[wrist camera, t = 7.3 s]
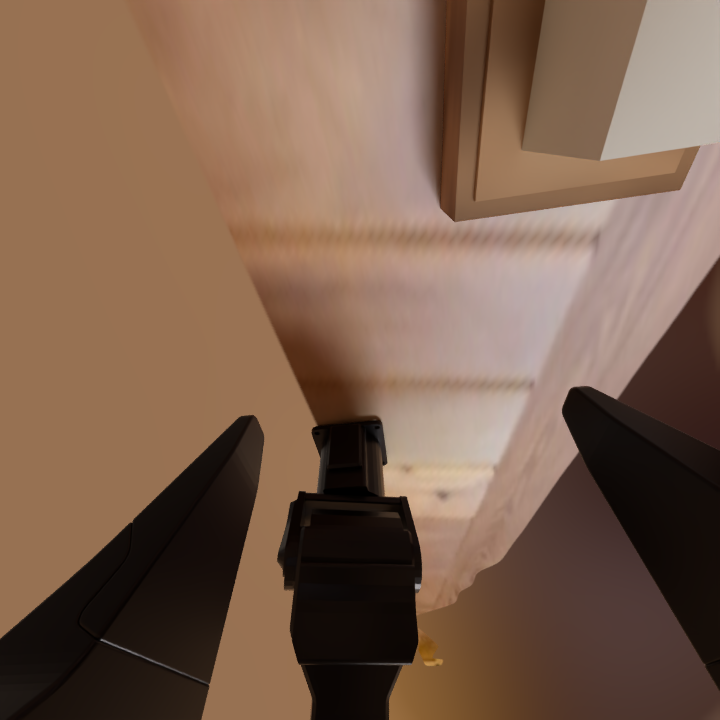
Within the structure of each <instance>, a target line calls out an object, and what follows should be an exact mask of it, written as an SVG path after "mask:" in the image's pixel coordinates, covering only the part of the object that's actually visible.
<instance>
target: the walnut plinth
mask: <svg viewBox="0 0 720 720" xmlns="http://www.w3.org/2000/svg"><path fill="white" fill-rule="evenodd" d="M544 6H545V0H447V3H446V38H445V73H444V108H443V143H442V178H441V209H442V210H443V211H444V212H445V213H446V214H447V215H448V216H449V217H450V218H451V219H452V220H453V221H454V222H458V221H465V220H472V219H479V218H486V217H494V216H501V215H508V214H515V213H522V212H529V211H536V210H543V209H550V208H557V207H564V206H571V205H578V204H585V203H592V202H599V201H606V200H613V199H620V198H627V197H634V196H641V195H648V194H655V193H662V192H669V191H676V190H680V189H681V187H682V185H683V183H684V180H685V178H686V176H687V174H688V172H689V170H690V167H691V165H692V163H693V161H694V159H695V156H696V154H697V152H698V150H699V148H700V146H694V147H688V148H681V149H675V150H668V151H662V152H655V153H649V154H642V155H636V156H629V157H623V158H616V159H610V160H603V161H596V160H589V159H581V158H574V157H567V156H559V155H552V154H544V153H537V152H529V151H522V144H523V138H524V131H525V125H526V119H527V113H528V106H529V100H530V94H531V88H532V81H533V75H534V69H535V63H536V56H537V50H538V44H539V38H540V31H541V25H542V19H543V13H544Z"/></svg>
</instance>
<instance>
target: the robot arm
mask: <svg viewBox="0 0 720 720" xmlns="http://www.w3.org/2000/svg"><path fill="white" fill-rule="evenodd" d="M562 414H563V417H564V419H565V422H566V424H567V426H568V428H569V430H570V433H571V435H572V437H573V439H574V441H575V443H576V446H577V448H578V450H579V452H580V454H581V457H582V458H583V460H584V463H585V464H586V466H587V468H588V470H589V472H590V473H591V475H592V477H593V478H594V480H595V482H596V484H597V485H598V487H599V489H600V490H601V492H602V494H603V495H604V497H605V499H606V501H607V502H608V504H609V506H610V507H611V509H612V511H613V512H614V514H615V515H616V517H617V519H618V521H619V522H620V524H621V526H622V527H623V529H624V531H625V532H626V534H627V536H628V538H629V539H630V541H631V542H632V544H633V546H634V548H635V549H636V551H637V553H638V554H639V556H640V558H641V559H642V561H643V563H644V564H645V566H646V568H647V569H648V571H649V573H650V575H651V576H652V578H653V580H654V581H655V583H656V584H657V586H658V588H659V590H660V591H661V593H662V595H663V596H664V598H665V600H666V601H667V603H668V605H669V607H670V608H671V610H672V612H673V613H674V615H675V617H676V618H677V620H678V622H679V623H680V625H681V626H682V628H683V630H684V632H685V633H686V635H687V637H688V639H689V640H690V642H691V644H692V645H693V647H694V649H695V650H696V652H697V654H698V655H699V657H700V659H701V660H702V662H703V663H704V664H705V668H706V669H707V671H708V673H709V674H710V676H711V678H712V680H713V681H714V683H715V685H716V686H717V688H718V690H719V691H720V451H719V450H717V449H715V448H713V447H711V446H709V445H707V444H705V443H703V442H701V441H699V440H697V439H695V438H693V437H691V436H689V435H687V434H685V433H683V432H681V431H679V430H677V429H675V428H673V427H671V426H669V425H667V424H665V423H663V422H661V421H659V420H656V419H655V418H652V417H651V416H648V415H646V414H644V413H642V412H640V411H638V410H636V409H634V408H632V407H630V406H628V405H626V404H624V403H622V402H620V401H618V400H616V399H614V398H612V397H610V396H608V395H606V394H604V393H602V392H600V391H598V390H596V389H594V388H592V387H589V386H580V387H573V388H571V389H570V390H569V392H568V395H567V397H566V400H565V402H564V404H563V407H562ZM312 436H313V439H314V441H315V444H316V447H317V450H318V453H319V455H320V458H321V459H320V468H319V478H318V487H317V493H306V492H305V491H299V494H298V499H297V500H295V501H293V502H291V503H290V508H289V514H288V519H287V524H286V528H285V531H284V535H283V538H282V542H281V545H280V548H279V552H278V558H277V562H278V563H279V565H280V566H281V568H282V569H283V577H285V578H284V590H294V595H293V605H292V613H291V622H290V633H291V637H292V643H293V646H294V650H295V654H296V657H297V661H298V663H299V665H301V667H302V669H303V672H304V675H305V678H306V681H307V684H308V687H309V690H310V693H311V696H312V703H311V715H310V720H389V697H390V695H391V692H392V690H393V688H394V685H395V683H396V680H397V678H398V675H399V673H400V671H401V668H402V666H403V665H411V664H412V662H413V659H414V656H415V652H416V649H417V645H418V629H417V619H416V602H415V593H418V592H419V590H420V586H421V580H422V560H421V551H420V545H419V541H418V537H417V533H416V529H415V526H414V522H413V518H412V515H411V511H410V507H409V504H408V500H407V497H406V496H400V497H385V491H384V478H383V466H384V465H386V464H387V455H386V448H385V440H384V433H383V425H382V422H381V421H367V422H357V423H347V424H336V425H326V426H316V427H314V428H313V429H312ZM263 445H264V434H263V431H262V429H261V427H260V424H259V422H258V420H257V418H256V417H255V416H254V415H248V416H241V417H239V418H238V419H237V420H236V421H235V422H234V423H233V424H232V425H231V426H230V427H229V428H228V429H226V431H224V432H223V433H222V434H221V435H220V436H219V437H218V438H217V439H216V440H215V441H214V442H213V443H212V444H211V445H210V446H209V447H208V448H207V449H206V450H205V451H204V452H203V453H202V454H201V455H200V456H199V457H198V458H196V459H195V460H194V462H193V463H192V464H190V465H189V466H188V467H187V468H186V469H185V470H184V471H183V472H182V473H181V474H180V475H179V476H178V477H177V478H176V479H175V480H174V481H173V482H172V483H171V484H170V485H169V486H168V487H166V488H165V490H163V491H162V492H161V493H160V494H159V495H158V496H157V497H156V498H155V499H154V500H153V501H152V502H151V503H150V504H149V505H148V506H147V507H146V508H145V509H144V510H143V511H142V512H141V513H140V514H139V515H138V516H137V517H135V518H134V520H133V523H129V524H128V525H127V526H126V527H125V528H124V529H123V530H122V531H121V532H120V533H119V534H118V535H117V536H116V537H115V538H114V539H113V540H111V541H110V542H109V543H108V544H107V545H106V546H105V547H104V548H103V549H102V550H101V551H100V552H99V553H98V554H97V555H96V556H94V557H93V558H92V559H91V560H90V561H89V562H88V563H87V564H86V565H84V566H83V567H82V568H81V569H80V570H79V571H78V572H77V573H75V574H74V575H73V576H72V577H71V578H70V579H69V580H68V581H66V582H65V583H64V584H63V585H62V586H61V587H60V588H58V589H57V590H56V591H55V592H54V593H53V594H51V595H50V596H49V597H48V598H47V599H46V600H44V601H43V602H42V603H41V604H40V605H39V606H38V607H36V608H35V609H34V610H33V611H32V612H31V613H29V614H28V615H27V616H26V617H25V618H24V619H22V620H21V621H20V622H19V623H18V624H17V625H16V626H14V627H13V628H12V629H11V630H10V631H9V632H8V633H6V634H5V635H4V636H3V637H2V638H1V639H0V720H201V718H202V714H203V710H204V706H205V702H206V698H207V694H208V690H209V684H210V681H211V677H212V673H213V669H214V665H215V661H216V656H217V652H218V648H219V644H220V640H221V636H222V632H223V628H224V624H225V620H226V616H227V612H228V608H229V603H230V600H231V596H232V592H233V588H234V584H235V579H236V575H237V571H238V567H239V563H240V559H241V555H242V551H243V547H244V542H245V539H246V535H247V531H248V527H249V523H250V519H251V515H252V510H253V507H254V503H255V498H256V493H257V489H258V483H259V475H260V468H261V461H262V453H263Z"/></svg>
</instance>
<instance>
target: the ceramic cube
mask: <svg viewBox="0 0 720 720" xmlns="http://www.w3.org/2000/svg"><path fill="white" fill-rule="evenodd" d="M714 143H720V0H545V6H544V13H543V19H542V25H541V31H540V38H539V44H538V50H537V56H536V63H535V69H534V75H533V81H532V88H531V94H530V100H529V106H528V113H527V119H526V125H525V131H524V138H523V144H522V151H529V152H537V153H544V154H552V155H559V156H567V157H574V158H581V159H589V160H596V161H603V160H610V159H616V158H623V157H629V156H636V155H642V154H649V153H655V152H662V151H668V150H675V149H681V148H688V147H694V146H701V145H707V144H714Z"/></svg>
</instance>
